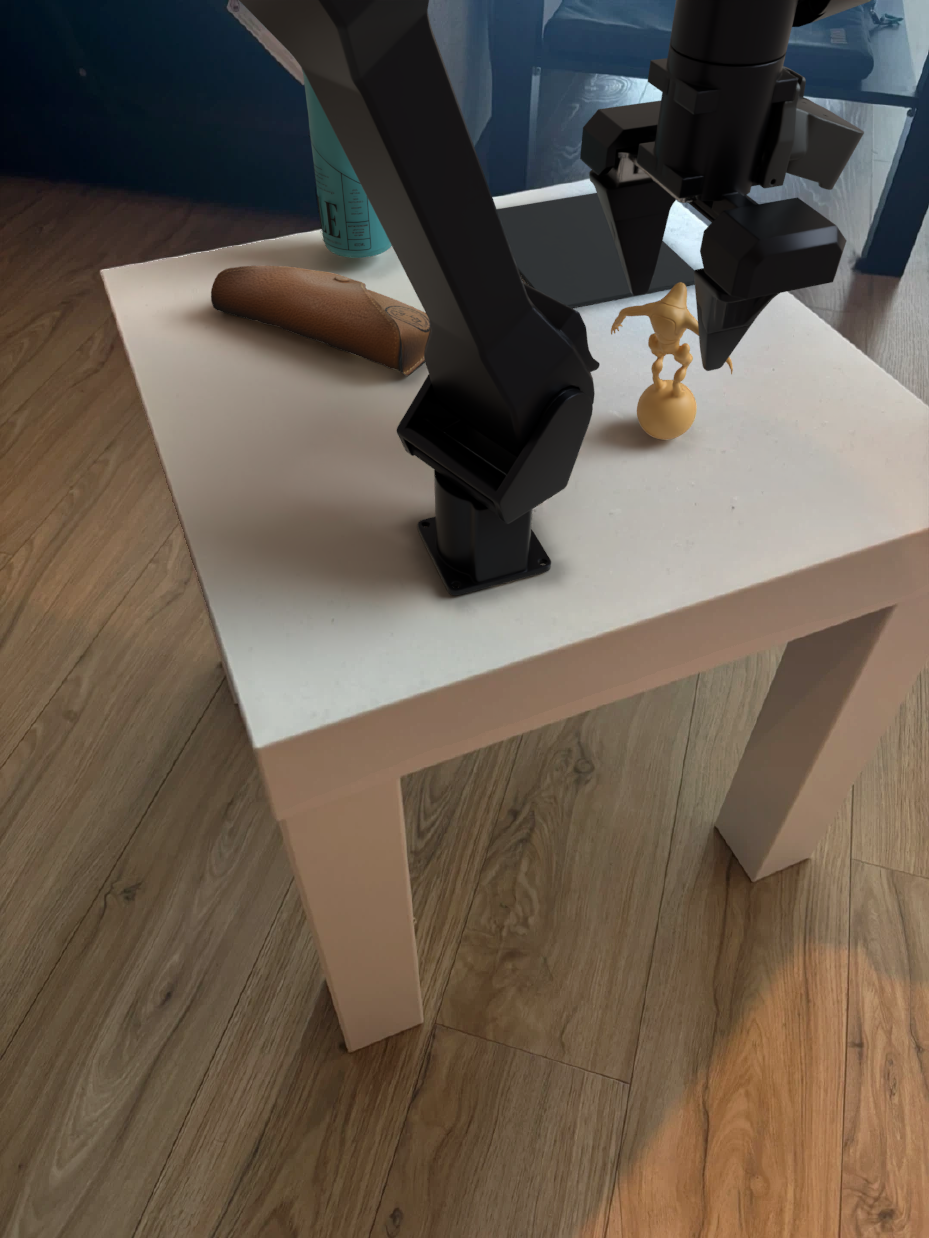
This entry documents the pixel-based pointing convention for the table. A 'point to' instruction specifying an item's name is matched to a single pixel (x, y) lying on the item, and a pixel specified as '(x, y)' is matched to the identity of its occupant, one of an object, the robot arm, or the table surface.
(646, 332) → the table surface
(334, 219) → the beverage bottle
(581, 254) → the mat
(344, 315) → the sunglasses case
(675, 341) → the figurine
